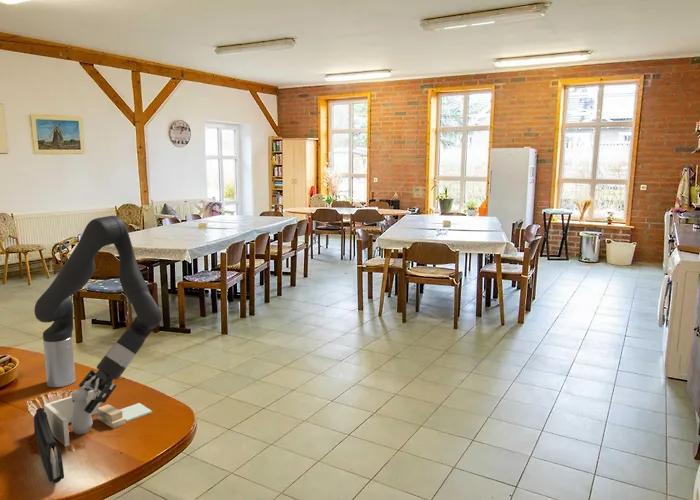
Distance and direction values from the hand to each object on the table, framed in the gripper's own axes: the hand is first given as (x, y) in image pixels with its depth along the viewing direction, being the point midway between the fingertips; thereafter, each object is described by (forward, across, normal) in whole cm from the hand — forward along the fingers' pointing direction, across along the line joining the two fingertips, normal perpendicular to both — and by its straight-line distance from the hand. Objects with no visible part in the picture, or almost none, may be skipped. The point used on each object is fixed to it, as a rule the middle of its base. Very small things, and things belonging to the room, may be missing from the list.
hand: (80, 407), depth 157 cm
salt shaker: (+6, 0, +6) cm, 8 cm away
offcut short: (-2, 0, +10) cm, 10 cm away
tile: (-6, 0, +17) cm, 18 cm away
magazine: (+15, +10, -3) cm, 18 cm away
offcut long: (0, 0, +12) cm, 12 cm away
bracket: (+5, -2, +6) cm, 8 cm away
